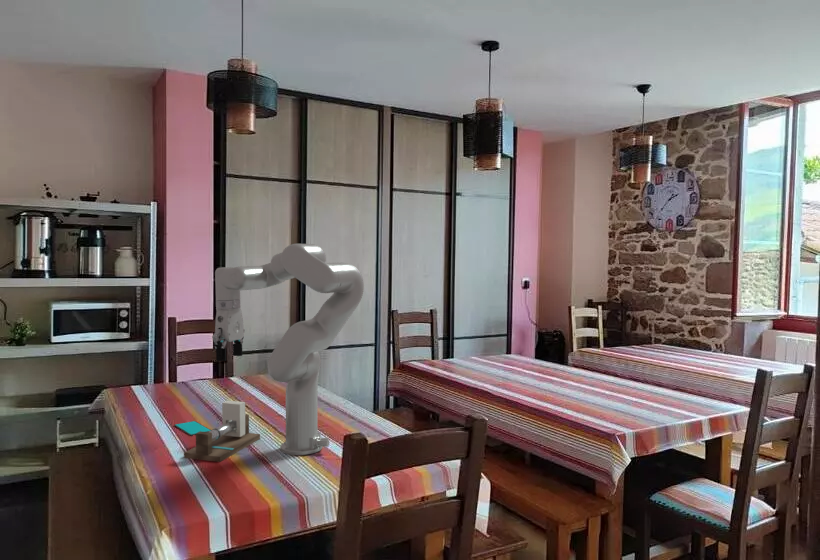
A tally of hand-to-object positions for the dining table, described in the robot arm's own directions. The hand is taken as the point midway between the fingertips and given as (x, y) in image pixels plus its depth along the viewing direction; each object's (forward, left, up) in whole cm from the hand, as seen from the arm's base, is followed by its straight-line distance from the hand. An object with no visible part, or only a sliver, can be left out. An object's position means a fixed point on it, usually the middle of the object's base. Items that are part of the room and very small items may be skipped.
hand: (229, 358), depth 191 cm
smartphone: (+16, -3, -26) cm, 31 cm away
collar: (-5, +6, -23) cm, 24 cm away
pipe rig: (-5, +11, -25) cm, 28 cm away
